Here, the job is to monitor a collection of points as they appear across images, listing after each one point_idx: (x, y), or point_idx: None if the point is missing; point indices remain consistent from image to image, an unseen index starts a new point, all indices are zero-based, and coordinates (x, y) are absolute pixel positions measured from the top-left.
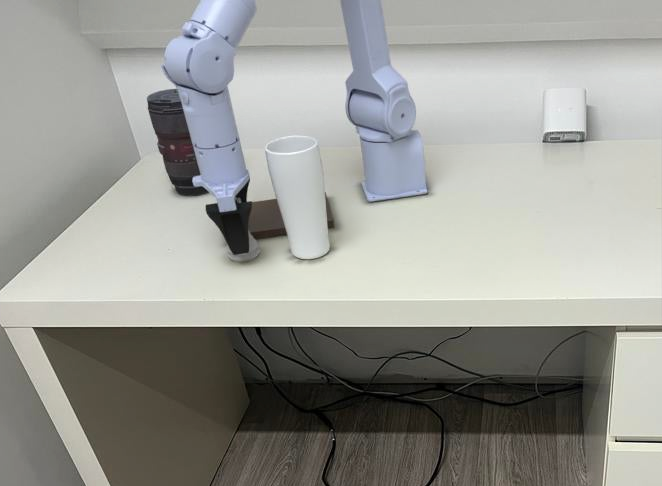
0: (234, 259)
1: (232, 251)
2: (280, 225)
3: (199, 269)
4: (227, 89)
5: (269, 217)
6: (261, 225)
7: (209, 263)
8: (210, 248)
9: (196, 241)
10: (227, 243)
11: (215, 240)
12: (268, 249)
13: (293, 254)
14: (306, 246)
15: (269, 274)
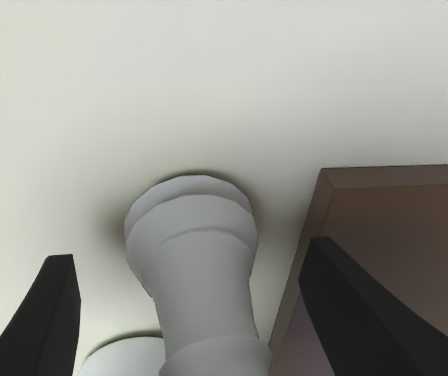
0: (135, 202)
1: (39, 271)
2: (307, 323)
3: (118, 43)
4: None
5: None
6: None
7: (170, 92)
8: (324, 96)
9: (437, 32)
10: (23, 304)
11: (387, 116)
12: None
13: (110, 347)
14: None
15: (3, 291)
